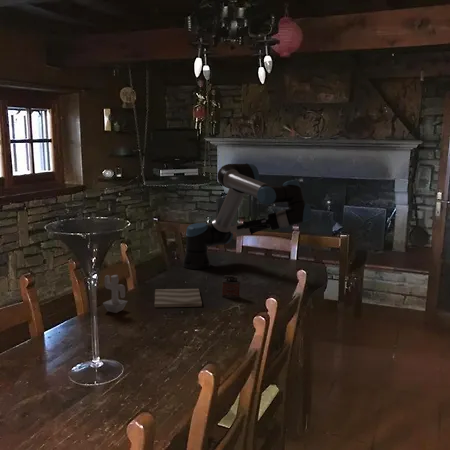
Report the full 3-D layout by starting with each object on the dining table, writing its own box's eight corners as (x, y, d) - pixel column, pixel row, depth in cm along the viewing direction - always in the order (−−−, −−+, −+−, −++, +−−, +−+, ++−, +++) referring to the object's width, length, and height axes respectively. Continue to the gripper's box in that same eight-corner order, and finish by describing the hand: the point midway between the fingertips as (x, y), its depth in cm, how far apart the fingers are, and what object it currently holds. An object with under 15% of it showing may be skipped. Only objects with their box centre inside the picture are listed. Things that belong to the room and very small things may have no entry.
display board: (155, 292, 232) (155, 289, 231) (198, 291, 234) (198, 288, 234) (154, 307, 212) (154, 303, 212) (201, 306, 215) (201, 303, 214)
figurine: (118, 315, 202) (118, 279, 199) (100, 311, 206) (99, 275, 203) (129, 309, 208) (129, 275, 206) (111, 306, 212) (111, 271, 210)
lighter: (239, 296, 229) (240, 275, 228) (239, 298, 226) (239, 277, 224) (222, 295, 230) (222, 274, 228) (221, 297, 227) (222, 276, 225)
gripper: (276, 224, 215) (229, 236, 218) (283, 231, 239) (240, 242, 242) (272, 207, 216) (225, 220, 220) (279, 216, 240) (236, 228, 244)
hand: (233, 232), depth 231 cm, fingers open, 13 cm apart
